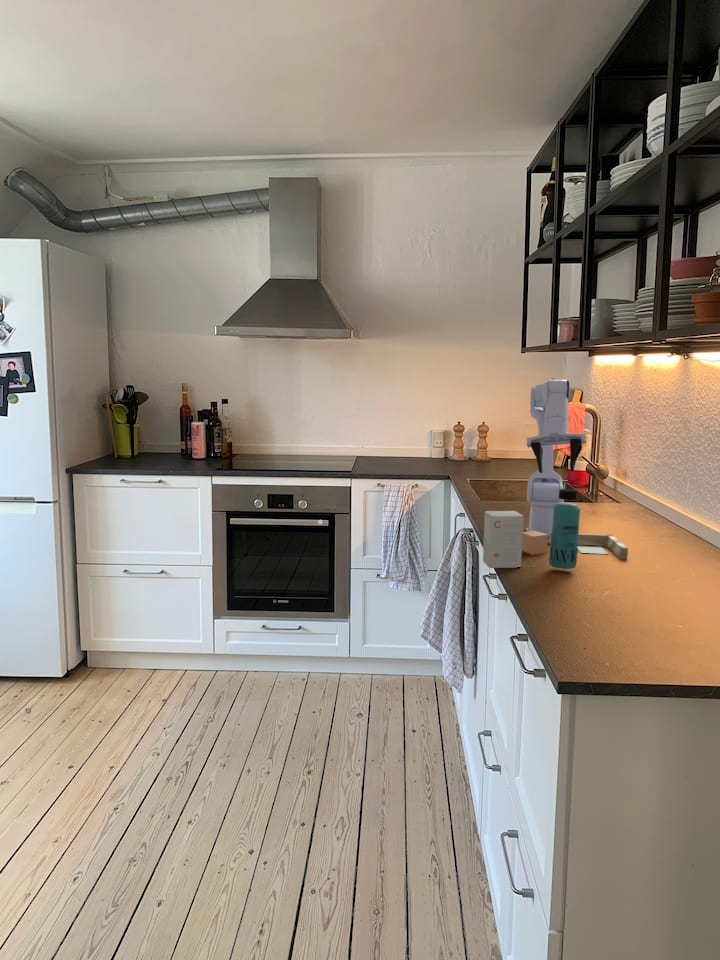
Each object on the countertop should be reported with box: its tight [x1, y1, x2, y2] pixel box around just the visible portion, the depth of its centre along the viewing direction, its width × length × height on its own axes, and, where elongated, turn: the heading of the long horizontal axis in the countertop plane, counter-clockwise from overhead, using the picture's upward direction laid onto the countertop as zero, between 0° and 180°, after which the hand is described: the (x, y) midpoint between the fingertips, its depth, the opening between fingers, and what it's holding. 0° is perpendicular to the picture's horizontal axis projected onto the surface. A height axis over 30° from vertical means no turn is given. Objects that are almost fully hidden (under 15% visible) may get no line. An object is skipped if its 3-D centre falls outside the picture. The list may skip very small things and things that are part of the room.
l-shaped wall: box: [548, 532, 629, 560], centre depth 192 cm, size 15×17×3 cm
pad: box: [577, 545, 609, 555], centre depth 192 cm, size 7×7×1 cm
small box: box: [482, 510, 525, 569], centre depth 176 cm, size 8×6×13 cm
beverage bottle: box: [548, 488, 581, 570], centre depth 171 cm, size 6×7×20 cm
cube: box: [522, 531, 549, 556], centre depth 190 cm, size 5×5×5 cm
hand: (556, 470), depth 179 cm, fingers open, 7 cm apart
